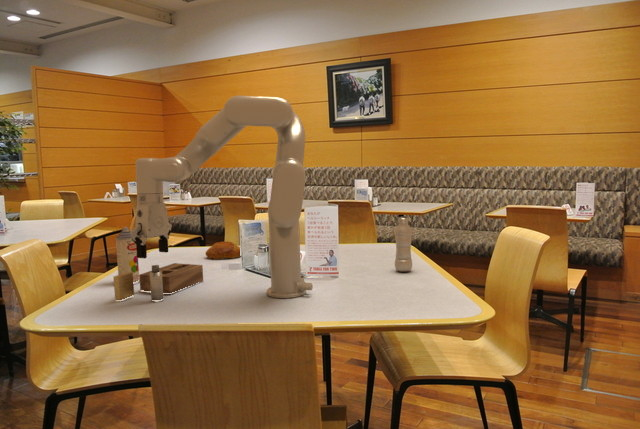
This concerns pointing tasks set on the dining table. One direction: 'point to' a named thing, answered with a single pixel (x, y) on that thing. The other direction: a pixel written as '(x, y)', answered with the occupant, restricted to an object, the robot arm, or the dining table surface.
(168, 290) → the socket block
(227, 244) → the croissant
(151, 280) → the small grey capped bottle
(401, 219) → the plastic bottle
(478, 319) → the dining table surface
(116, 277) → the tan wooden block
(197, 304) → the dining table surface
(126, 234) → the aerosol can
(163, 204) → the robot arm
